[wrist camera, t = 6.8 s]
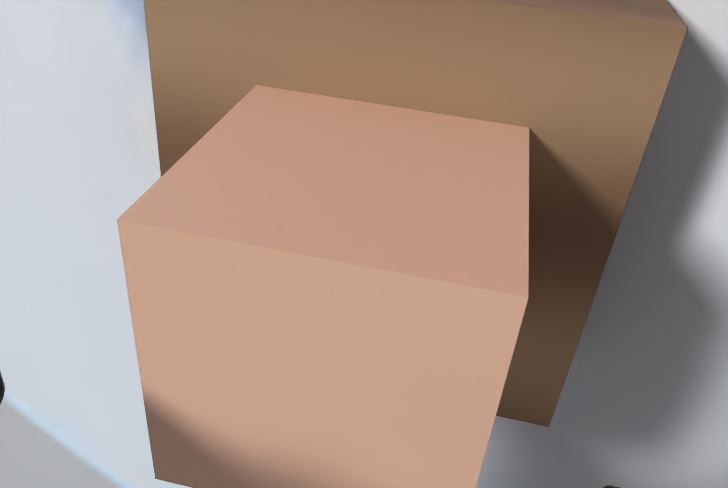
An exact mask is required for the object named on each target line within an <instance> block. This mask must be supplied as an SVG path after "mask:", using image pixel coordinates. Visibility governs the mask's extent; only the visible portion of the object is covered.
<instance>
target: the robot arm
mask: <svg viewBox="0 0 728 488" xmlns="http://www.w3.org/2000/svg"><path fill="white" fill-rule="evenodd" d="M4 392H5V386H4V382H3V379H2V375H1V372H0V404H1V402H2V399H3V397H4ZM604 488H619V487H615V486H605V487H604Z"/></svg>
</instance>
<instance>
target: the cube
mask: <svg viewBox="0 0 728 488" xmlns="http://www.w3.org/2000/svg"><path fill="white" fill-rule="evenodd" d="M117 222H118V229H119V236H120V243H121V249H122V256H123V263H124V270H125V276H126V283H127V290H128V297H129V303H130V310H131V317H132V324H133V330H134V337H135V344H136V351H137V357H138V364H139V371H140V378H141V385H142V391H143V398H144V405H145V412H146V418H147V425H148V432H149V439H150V445H151V452H152V459H153V466H154V472H155V479H159V480H163V481H167V482H171V483H175V484H180V485H184V486H188V487H192V488H476V485H477V482H478V478H479V474H480V471H481V467H482V464H483V460H484V456H485V453H486V449H487V446H488V442H489V438H490V435H491V431H492V427H493V424H494V420H495V417H496V413H497V409H498V406H499V402H500V399H501V395H502V391H503V388H504V384H505V380H506V377H507V373H508V370H509V366H510V362H511V359H512V355H513V352H514V348H515V344H516V341H517V337H518V334H519V330H520V326H521V323H522V319H523V315H524V312H525V308H526V305H527V301H528V280H529V128H528V127H521V126H515V125H509V124H502V123H496V122H489V121H483V120H477V119H470V118H464V117H458V116H451V115H445V114H438V113H432V112H426V111H419V110H413V109H406V108H400V107H394V106H387V105H381V104H375V103H368V102H362V101H355V100H349V99H343V98H336V97H330V96H323V95H317V94H311V93H304V92H298V91H292V90H285V89H279V88H272V87H266V86H260V85H256V86H255V87H254V88H253V89H252V90H251V91H250V92H249V93H248V94H247V95H246V96H245V97H244V98H243V99H242V100H241V101H239V102H238V103H237V104H236V105H235V106H234V107H233V108H232V109H231V110H230V111H229V112H228V113H227V114H226V115H225V116H224V117H223V118H222V119H221V120H220V121H219V122H218V123H217V124H216V125H215V126H214V127H213V128H212V129H210V130H209V131H208V132H207V133H206V134H205V135H204V136H203V137H202V138H201V139H200V140H199V141H198V142H197V143H196V144H195V145H194V146H193V147H192V148H191V149H190V150H189V151H188V152H187V153H186V154H185V155H184V156H182V157H181V158H180V159H179V160H178V161H177V162H176V163H175V164H174V165H173V166H172V167H171V168H170V169H169V170H168V171H167V172H166V173H165V174H164V175H163V176H162V177H161V178H160V179H159V180H158V181H157V182H156V183H155V184H153V185H152V186H151V187H150V188H149V189H148V190H147V191H146V192H145V193H144V194H143V195H142V196H141V197H140V198H139V199H138V200H137V201H136V202H135V203H134V204H133V205H132V206H131V207H130V208H129V209H128V210H127V211H125V212H124V213H123V214H122V215H121V216H120V217H119V218H118V219H117Z"/></svg>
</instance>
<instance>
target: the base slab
mask: <svg viewBox="0 0 728 488" xmlns="http://www.w3.org/2000/svg"><path fill="white" fill-rule="evenodd" d="M144 9H145V19H146V29H147V39H148V49H149V59H150V70H151V80H152V90H153V100H154V110H155V120H156V130H157V140H158V150H159V160H160V170H161V177H162V176H163V175H164V174H165V173H166V172H167V171H168V170H169V169H170V168H171V167H172V166H173V165H174V164H175V163H176V162H177V161H178V160H179V159H180V158H181V157H182V156H184V155H185V154H186V153H187V152H188V151H189V150H190V149H191V148H192V147H193V146H194V145H195V144H196V143H197V142H198V141H199V140H200V139H201V138H202V137H203V136H204V135H205V134H206V133H207V132H208V131H209V130H210V129H212V128H213V127H214V126H215V125H216V124H217V123H218V122H219V121H220V120H221V119H222V118H223V117H224V116H225V115H226V114H227V113H228V112H229V111H230V110H231V109H232V108H233V107H234V106H235V105H236V104H237V103H238V102H239V101H241V100H242V99H243V98H244V97H245V96H246V95H247V94H248V93H249V92H250V91H251V90H252V89H253V88H254V87H255V86H256V85H260V86H266V87H272V88H279V89H285V90H292V91H298V92H304V93H311V94H317V95H323V96H330V97H336V98H343V99H349V100H355V101H362V102H368V103H375V104H381V105H387V106H394V107H400V108H406V109H413V110H419V111H426V112H432V113H438V114H445V115H451V116H458V117H464V118H470V119H477V120H483V121H489V122H496V123H502V124H509V125H515V126H521V127H528V128H529V280H528V301H527V305H526V308H525V312H524V315H523V319H522V323H521V326H520V330H519V334H518V337H517V341H516V344H515V348H514V352H513V355H512V359H511V362H510V366H509V370H508V373H507V377H506V380H505V384H504V388H503V391H502V395H501V399H500V402H499V406H498V409H497V413H496V416H501V417H505V418H510V419H515V420H519V421H524V422H529V423H533V424H538V425H543V426H547V427H549V425H550V422H551V419H552V416H553V414H554V411H555V408H556V405H557V402H558V399H559V396H560V393H561V391H562V388H563V385H564V382H565V379H566V376H567V373H568V370H569V368H570V365H571V362H572V359H573V356H574V353H575V350H576V347H577V345H578V342H579V339H580V336H581V333H582V330H583V327H584V324H585V321H586V319H587V316H588V313H589V310H590V307H591V304H592V301H593V298H594V296H595V293H596V290H597V287H598V284H599V281H600V278H601V275H602V273H603V270H604V267H605V264H606V261H607V258H608V255H609V252H610V250H611V247H612V244H613V241H614V238H615V235H616V232H617V229H618V227H619V224H620V221H621V218H622V215H623V212H624V209H625V206H626V204H627V201H628V198H629V195H630V192H631V189H632V186H633V183H634V180H635V178H636V175H637V172H638V169H639V166H640V163H641V160H642V157H643V155H644V152H645V149H646V146H647V143H648V140H649V137H650V134H651V132H652V129H653V126H654V123H655V120H656V117H657V114H658V111H659V109H660V106H661V103H662V100H663V97H664V94H665V91H666V88H667V86H668V83H669V80H670V77H671V74H672V71H673V68H674V65H675V63H676V60H677V57H678V54H679V51H680V48H681V45H682V42H683V39H684V37H685V34H686V31H687V28H688V27H687V26H686V25H685V23H684V22H683V21H682V20H681V18H680V17H679V16H678V14H677V13H676V12H675V10H674V9H673V8H672V6H671V5H670V4H669V2H668V1H667V0H144Z"/></svg>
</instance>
